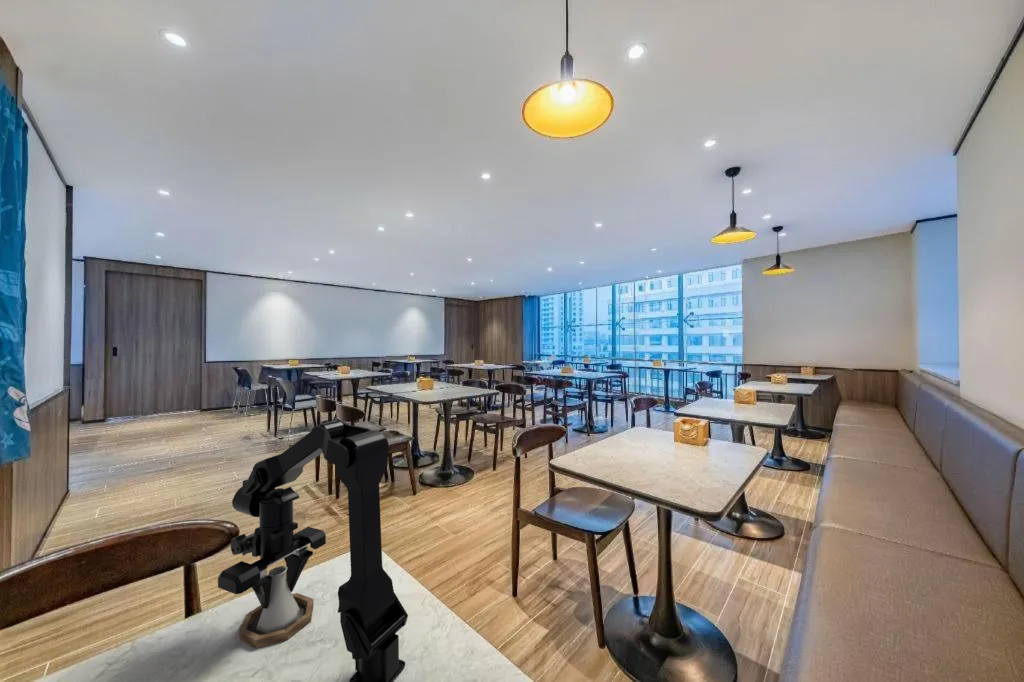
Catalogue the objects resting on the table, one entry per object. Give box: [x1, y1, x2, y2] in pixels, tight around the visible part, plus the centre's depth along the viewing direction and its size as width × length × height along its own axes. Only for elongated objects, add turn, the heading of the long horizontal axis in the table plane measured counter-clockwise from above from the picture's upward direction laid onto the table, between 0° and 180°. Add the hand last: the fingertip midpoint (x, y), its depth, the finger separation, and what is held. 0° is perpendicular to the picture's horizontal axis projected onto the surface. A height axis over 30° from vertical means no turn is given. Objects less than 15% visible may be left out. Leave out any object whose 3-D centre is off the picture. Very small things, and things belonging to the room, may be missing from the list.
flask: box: [256, 565, 300, 633], centre depth 76 cm, size 7×7×10 cm
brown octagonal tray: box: [238, 592, 315, 649], centre depth 76 cm, size 12×12×2 cm
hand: (277, 599), depth 76 cm, fingers open, 5 cm apart
